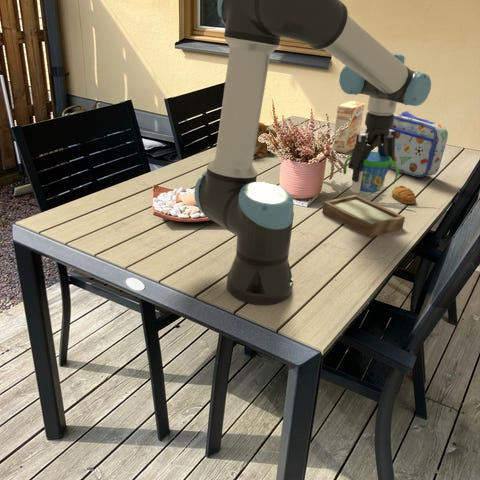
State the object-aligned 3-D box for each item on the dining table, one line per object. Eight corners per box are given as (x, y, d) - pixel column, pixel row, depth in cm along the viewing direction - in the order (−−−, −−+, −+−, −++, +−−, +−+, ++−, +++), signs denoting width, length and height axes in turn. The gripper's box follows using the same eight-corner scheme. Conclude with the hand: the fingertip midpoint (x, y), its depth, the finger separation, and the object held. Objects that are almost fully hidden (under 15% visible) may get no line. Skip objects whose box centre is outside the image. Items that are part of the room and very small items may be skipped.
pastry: (420, 205, 166) (422, 194, 164) (402, 206, 164) (404, 195, 163) (406, 194, 174) (408, 184, 172) (388, 195, 172) (390, 185, 171)
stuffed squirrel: (240, 152, 207) (242, 121, 201) (263, 147, 216) (266, 117, 210) (257, 159, 201) (259, 126, 195) (280, 153, 210) (283, 122, 204)
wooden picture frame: (369, 237, 141) (372, 226, 139) (322, 212, 155) (323, 201, 154) (402, 227, 148) (404, 217, 146) (354, 204, 163) (355, 194, 161)
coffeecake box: (345, 153, 215) (353, 107, 206) (330, 150, 218) (337, 105, 209) (358, 146, 226) (365, 102, 218) (343, 143, 230) (350, 100, 221)
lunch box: (368, 162, 205) (378, 108, 196) (385, 158, 211) (395, 106, 201) (423, 183, 186) (437, 124, 176) (440, 179, 191) (455, 121, 181)
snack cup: (397, 189, 148) (404, 156, 143) (388, 200, 140) (395, 166, 135) (347, 178, 155) (352, 146, 150) (336, 188, 146) (341, 155, 142)
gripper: (362, 119, 129) (349, 199, 139) (417, 112, 140) (401, 186, 150) (342, 112, 134) (331, 190, 144) (396, 106, 145) (383, 179, 156)
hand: (367, 188), depth 147 cm, fingers closed on snack cup, 9 cm apart
